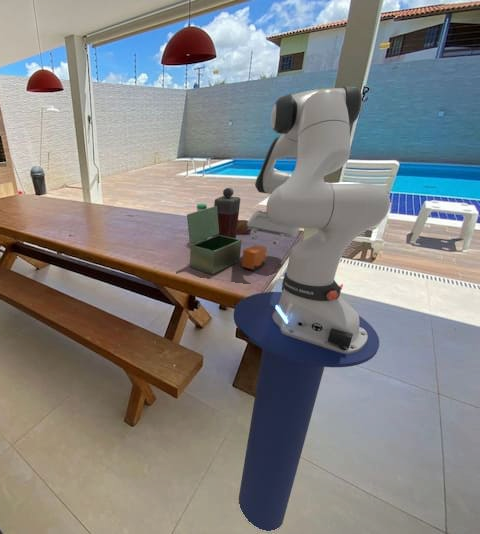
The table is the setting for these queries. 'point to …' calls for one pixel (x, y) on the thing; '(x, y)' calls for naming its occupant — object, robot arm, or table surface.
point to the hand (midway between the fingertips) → (264, 241)
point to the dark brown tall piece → (227, 213)
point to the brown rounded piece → (243, 227)
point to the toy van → (253, 257)
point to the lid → (203, 224)
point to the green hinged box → (215, 253)
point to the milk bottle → (199, 208)
